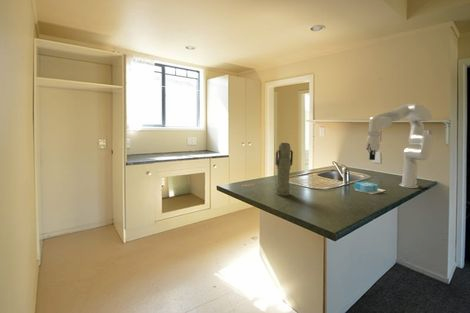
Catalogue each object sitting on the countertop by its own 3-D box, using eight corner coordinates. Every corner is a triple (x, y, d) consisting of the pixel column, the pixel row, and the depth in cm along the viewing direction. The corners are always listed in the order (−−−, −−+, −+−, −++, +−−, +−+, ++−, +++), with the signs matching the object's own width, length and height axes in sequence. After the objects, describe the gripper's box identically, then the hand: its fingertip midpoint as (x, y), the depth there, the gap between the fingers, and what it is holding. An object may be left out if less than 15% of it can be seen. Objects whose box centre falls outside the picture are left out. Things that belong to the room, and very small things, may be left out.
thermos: (271, 193, 186) (273, 142, 182) (286, 191, 190) (288, 142, 186) (278, 196, 178) (280, 143, 173) (293, 195, 182) (296, 143, 178)
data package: (379, 185, 194) (366, 186, 190) (378, 191, 195) (365, 192, 191) (365, 181, 205) (353, 182, 201) (365, 187, 206) (353, 188, 202)
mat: (368, 187, 209) (368, 186, 209) (385, 191, 198) (385, 190, 198) (354, 190, 199) (354, 189, 199) (371, 194, 188) (371, 193, 188)
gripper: (374, 134, 200) (372, 158, 202) (363, 134, 192) (361, 159, 194) (384, 134, 194) (382, 159, 196) (373, 134, 185) (371, 161, 188)
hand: (372, 159), depth 195 cm, fingers closed
